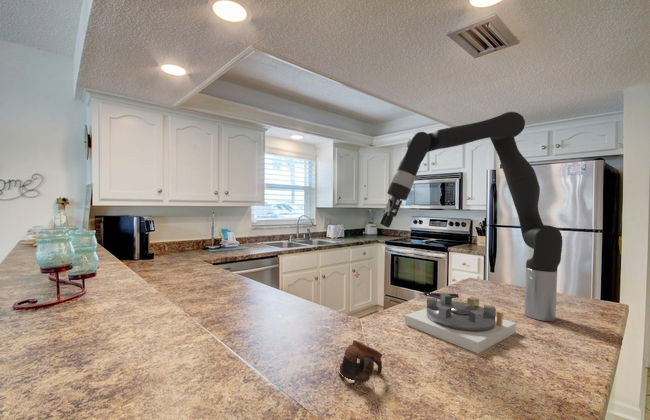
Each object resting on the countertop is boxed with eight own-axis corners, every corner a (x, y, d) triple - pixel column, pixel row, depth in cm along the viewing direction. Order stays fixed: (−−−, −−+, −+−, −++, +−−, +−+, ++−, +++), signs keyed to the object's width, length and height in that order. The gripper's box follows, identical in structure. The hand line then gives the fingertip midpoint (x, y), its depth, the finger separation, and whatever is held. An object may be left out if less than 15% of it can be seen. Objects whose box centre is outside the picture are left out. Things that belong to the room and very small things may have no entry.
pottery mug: (331, 368, 73) (345, 334, 76) (366, 384, 74) (378, 351, 77) (345, 384, 62) (361, 344, 64) (386, 403, 63) (399, 362, 65)
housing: (445, 310, 115) (446, 291, 115) (515, 332, 96) (516, 310, 96) (404, 324, 101) (405, 303, 100) (477, 353, 81) (478, 327, 81)
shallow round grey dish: (447, 304, 112) (448, 290, 112) (506, 321, 96) (507, 306, 96) (414, 315, 100) (414, 299, 100) (474, 337, 84) (475, 319, 84)
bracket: (432, 307, 120) (432, 300, 120) (423, 295, 135) (423, 289, 135) (470, 309, 119) (470, 302, 119) (456, 297, 134) (457, 291, 134)
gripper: (415, 188, 105) (397, 231, 105) (406, 189, 119) (390, 228, 120) (395, 179, 105) (377, 223, 106) (388, 182, 119) (372, 220, 120)
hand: (384, 225), depth 113 cm, fingers open, 8 cm apart
